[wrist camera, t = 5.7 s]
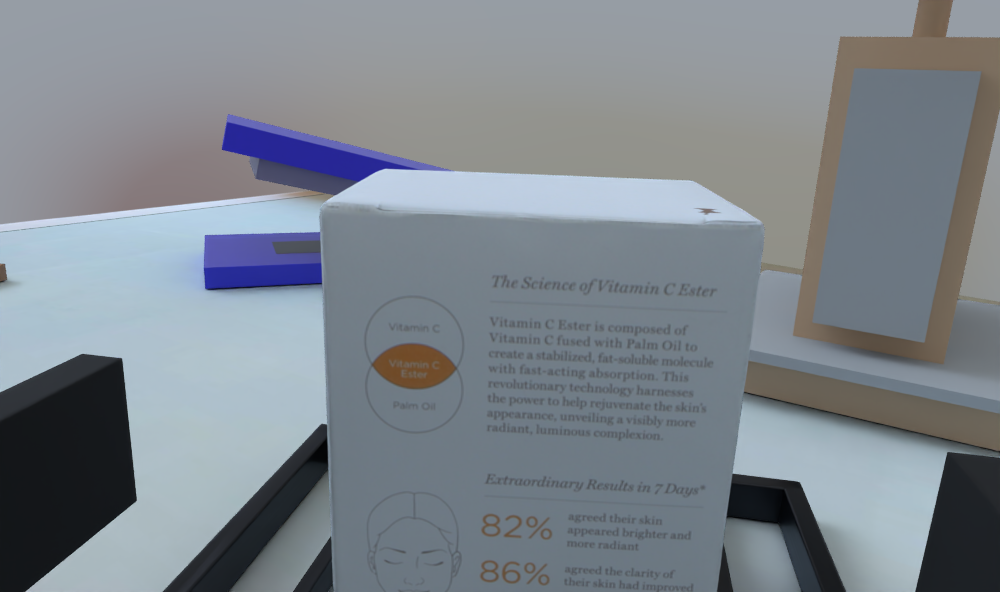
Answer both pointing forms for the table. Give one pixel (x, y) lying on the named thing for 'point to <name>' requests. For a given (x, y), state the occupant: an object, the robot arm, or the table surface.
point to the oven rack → (266, 511)
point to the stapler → (293, 165)
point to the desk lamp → (893, 244)
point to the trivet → (3, 272)
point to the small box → (533, 380)
